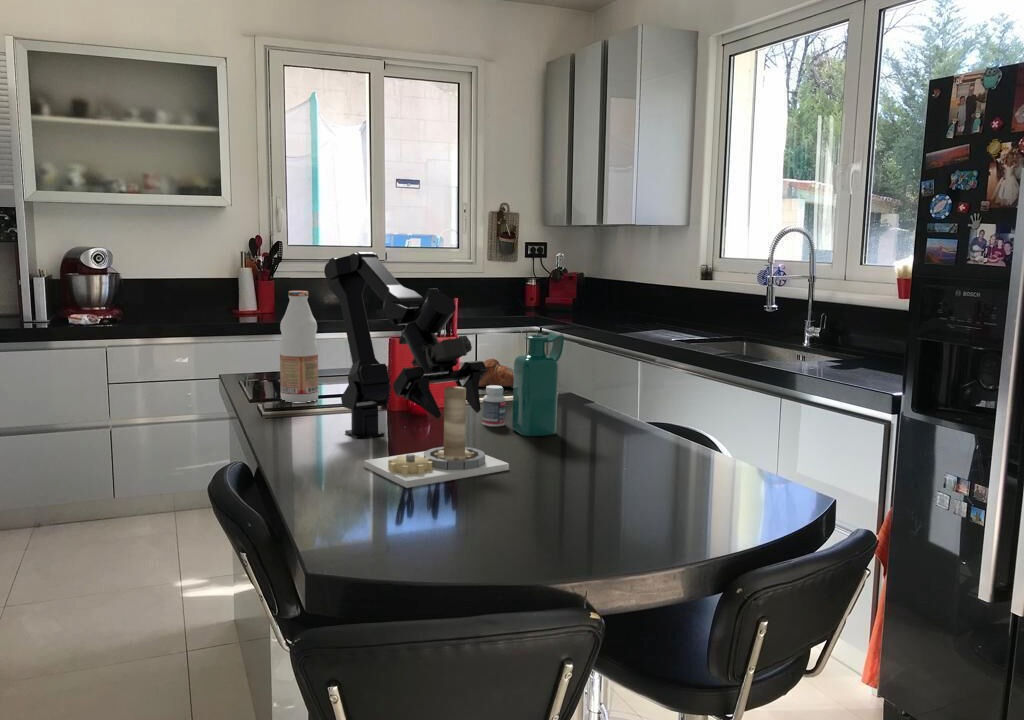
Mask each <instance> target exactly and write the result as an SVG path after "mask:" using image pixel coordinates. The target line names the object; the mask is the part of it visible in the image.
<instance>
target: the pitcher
mask: <svg viewBox="0 0 1024 720" xmlns="http://www.w3.org/2000/svg"><path fill="white" fill-rule="evenodd" d="M524 339H525V340H527V341H528V348H527V349H528V350H527V352H526V354H522V355H521V354H520V355H519V356H517V357H515V358H514V361H513V373H514V384H513V388H512V390H513V393H512V426H511V427H512V430H513V431H514V432H516V433H517V434H519V435H521V436H524V437H538V436H539V437H546V436H552V435H555V434H556V433H557V415H558V389H559V387H558V386H559V385H558V383H559V382H558V381H559V363H558V361H559V360H560V358H561V356H562V353H563V349H564V343H565V336H564V335H562V334H558V333H555V332H551V333H550V332H549V333H548V334H547V335H543V334H527V335H525V336H524ZM545 343H552V347H551V349H550V352H549V354H548V355H547V354H546V352H545V349H546V348H545Z"/></svg>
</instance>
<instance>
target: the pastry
mask: <svg viewBox="0 0 1024 720" xmlns="http://www.w3.org/2000/svg"><path fill="white" fill-rule="evenodd" d="M483 362H484V364H485V366H486V368H487V370H488V371H487V372H486V373H485V375H484V376H483V377H482V379H481V380H480V381H479V387H486V386H490V385H497V386H513V384H514V372H512V370H511V369H510V368H509V367H507V366H506V365H501V364H500V362H499V361H498V360H497V359H495V358H488V359H486V360H485V361H483Z"/></svg>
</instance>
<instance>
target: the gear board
mask: <svg viewBox="0 0 1024 720" xmlns="http://www.w3.org/2000/svg"><path fill="white" fill-rule="evenodd" d="M465 449H466V450H468V451H469V452H471V453H473V452H474V458H473V459H466V460H444V459H437V458H435V457H434V453H438V450H444V446H439V447H433V448H430V449H427V450H424V451H417V452H412V453H404V454H398V455H391V456H385V457H379V458H371V459H366V460H363V467H364V468H365V469H368V470H370V471H372V472H374V473H376V474H378V475H380V476H382V477H384V478H386V479H387V480H389V481H392V482H394V483H396V484H398V485H400V486H402V487H404V488H406V489H409V488H414V487H419V486H426V485H430V484H437V483H444V482H448V481H453V480H459V479H464V478H465V479H466V478H469V477H471V478H472V477H477V476H482V475H487V474H493V473H499V472H504V471H509V470H510V464H509V463H508V462H506V461H503V460H501V459H497V458H495V457H492V456H490V455H487V454H485V451H484V450H480V449H478V448H474V447H469V446H468V447H467V446H465Z"/></svg>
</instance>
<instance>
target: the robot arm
mask: <svg viewBox="0 0 1024 720" xmlns="http://www.w3.org/2000/svg"><path fill="white" fill-rule="evenodd" d="M324 275H325V276H324V277H325V279H326V281H327V285H328V288H329V291H331V292H332V294H334V296H335V297H336V298H337V299H338V300H339V303H340V304H339V305H340V309H341V313H342V318H343V319H342V320H343V322H344V328H345V332H346V333H345V334H346V337H347V342H348V348H349V352H350V357H351V361H352V364H351V368H350V370H349V371H348V372H349V373H348V375H347V380H348V381H347V382H348V384H347V387H346V388H345V390H344V391H343V393H342V395H341V397H340V401H341V406H342V407H343V408H344V409H345V408H346V409H348V410H350V411H351V412H350V413H351V424H350V425H351V429H347V430H344V433H345V434H347V435H349V436H352V437H353V438H356V439H365V438H372V437H380V436H386V435H385V432H384V431H381V430H379V407H387V406H388V402H389V398H390V394H391V390H392V389H393V390H394V391H393V392H394V393H395V395H396V397H397V398H401V397H403V399H404V400H409V401H410V402H412V403H413V404H415V405H417V406H418V407H420V408H421V409H423V410H425V411H426V412H428V413H429V414H430V415H432V417H434V418H435V419H440V418H441V417H442V413H441V411H440V408H439V406H438V403H437V401H436V399H435V397H434V396H433V393H432V392H431V389H430V384H434V385H435V384H442V383H450V382H452V383H453V382H454V381H455V382H456V385H457V386H456V387H464V388H466V403H467V404H469V406H470V407H471V408H472V410H474V412H476V413H475V414H478V413H479V412H480V411H481V409H482V408H481V407H482V406H481V400H480V399H481V398H480V391H479V381H480V380H481V379H482V377H483V376H484V375H485V373H486V372H487V371H488V370H487V368H486V366H485V364H484V362H485V361H483V360H471V361H465V362H464V363H463V364H462V366H461V367H460V369H456V370H455V369H453V367H456V366H457V365H458V364H459V361H458V359H460V358H462V357H465V356H467V355H468V353H469V352H471V351H472V349H473V348H472V343H471V341H470V339H469V337H468V335H459V336H458V337H455V338H448V339H444V340H443V339H442V341H441V340H440V341H439V339H438V337H437V334H438V333H440V332H442V331H443V330H444V328H445V326H446V325H447V324H448V321H449V320H450V318H452V316H453V315H454V313H455V311H456V308H457V307H456V303H455V301H454V300H453V299H451V298H450V297H449V296H448V295H447V294H445V293H442V292H441V291H440V290H439V289H438V288H428V289H427V291H426V293H425V295H424V297H423V296H422V295H420V294H419V293H418V292H417V291H415V290H413V289H410V288H407V287H405V286H403V285H402V284H401V283H400V282H399V281H398V280H397V279H396V277H395V276H394V275H393V273H391V272H390V271H389V270H388V269H387V267H386V266H385V265H384V264H383V263H382V262H381V261H380V259H379V256H378V255H377V253H375V252H373V251H356V252H354V253H351V254H350V255H345V256H341V257H332V258H330V259H329V260H328V262H326V263H325V266H324ZM367 284H368V286H369V287H370V289H372V290H373V292H374V293H375V294H376V295H377V297H379V299H380V300H381V301H382V303H383V305H382V311H383V313H384V315H385V316H386V318H387V320H388V321H389V322H390V324H391V325H393V326H402V325H406V326H405V328H404V329H403V330H401V334H400V337H399V338H398V345H407V346H408V348H409V350H410V352H411V354H412V357H413V359H412V361H411V364H412V366H413V367H403V368H402V369H401V371H400V373H399V374H398V376H397V377H396V378H395V380H394V381H393V383H392V386H391V379H390V376H389V372H388V367H387V365H386V363H381V362H379V360H377V358H376V355H375V351H374V346H373V341H372V335H371V332H370V328H369V322H368V318H367V312H366V308H365V307H366V306H365V303H364V298H363V297H364V296H363V292H364V290H365V287H366V285H367ZM455 382H454V383H455ZM391 387H392V389H391Z"/></svg>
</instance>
